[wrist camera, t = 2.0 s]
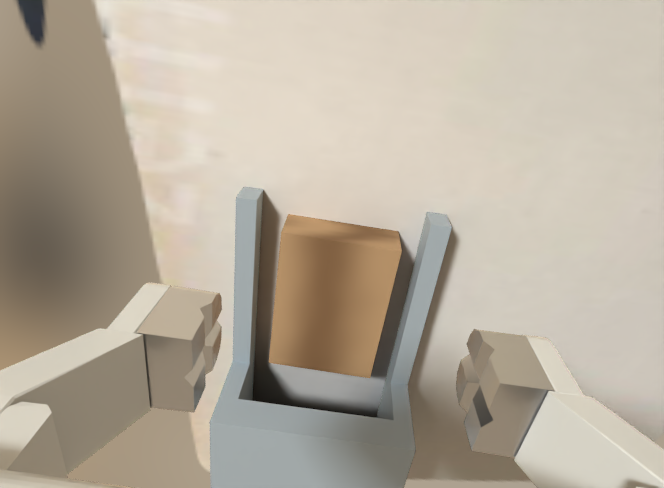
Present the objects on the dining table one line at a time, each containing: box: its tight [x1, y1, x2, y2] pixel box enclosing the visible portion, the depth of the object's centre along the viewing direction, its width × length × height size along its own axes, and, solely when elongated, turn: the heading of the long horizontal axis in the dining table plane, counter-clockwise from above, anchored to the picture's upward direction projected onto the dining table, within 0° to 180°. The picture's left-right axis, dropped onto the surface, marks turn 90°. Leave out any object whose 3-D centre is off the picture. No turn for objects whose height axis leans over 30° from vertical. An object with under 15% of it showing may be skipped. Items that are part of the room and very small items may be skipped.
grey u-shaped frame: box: [210, 187, 452, 488], centre depth 28 cm, size 12×20×7 cm, turn 173°
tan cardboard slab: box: [269, 214, 402, 378], centre depth 28 cm, size 7×10×3 cm
